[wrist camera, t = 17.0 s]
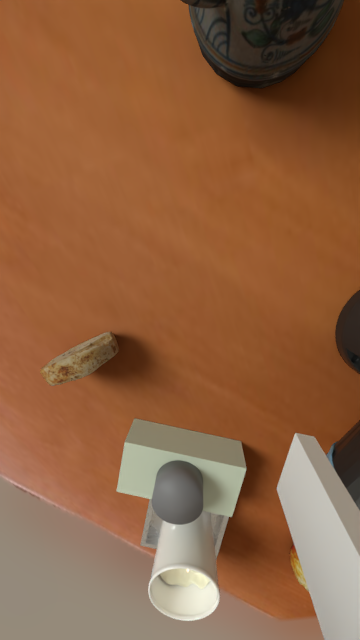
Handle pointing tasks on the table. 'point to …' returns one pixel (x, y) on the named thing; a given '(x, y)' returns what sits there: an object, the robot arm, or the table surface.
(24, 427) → the table surface
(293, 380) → the table surface
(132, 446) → the push-button box
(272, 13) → the beer stein
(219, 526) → the gray square tray
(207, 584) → the candle holder
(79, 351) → the stone disc
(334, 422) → the table surface
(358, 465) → the robot arm
